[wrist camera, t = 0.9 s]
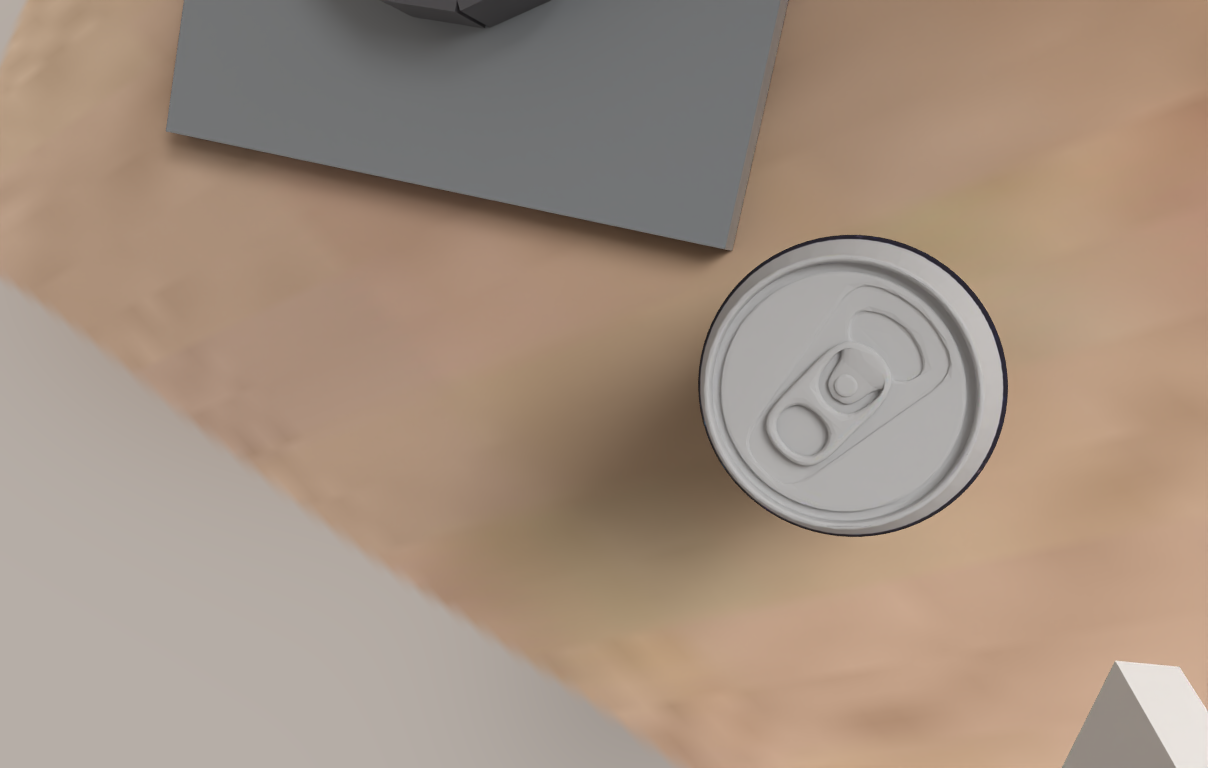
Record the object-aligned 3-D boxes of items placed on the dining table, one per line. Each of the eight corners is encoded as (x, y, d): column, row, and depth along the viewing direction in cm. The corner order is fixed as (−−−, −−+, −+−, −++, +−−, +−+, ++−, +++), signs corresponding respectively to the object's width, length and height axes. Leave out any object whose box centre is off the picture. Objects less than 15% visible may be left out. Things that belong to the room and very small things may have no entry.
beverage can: (1038, 353, 28) (1088, 391, 17) (888, 496, 30) (842, 618, 19) (883, 213, 29) (833, 163, 18) (746, 358, 31) (621, 395, 20)
